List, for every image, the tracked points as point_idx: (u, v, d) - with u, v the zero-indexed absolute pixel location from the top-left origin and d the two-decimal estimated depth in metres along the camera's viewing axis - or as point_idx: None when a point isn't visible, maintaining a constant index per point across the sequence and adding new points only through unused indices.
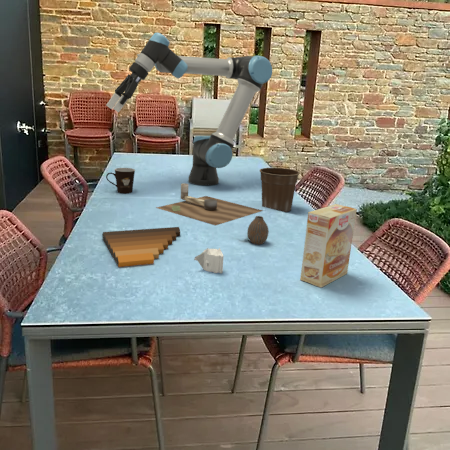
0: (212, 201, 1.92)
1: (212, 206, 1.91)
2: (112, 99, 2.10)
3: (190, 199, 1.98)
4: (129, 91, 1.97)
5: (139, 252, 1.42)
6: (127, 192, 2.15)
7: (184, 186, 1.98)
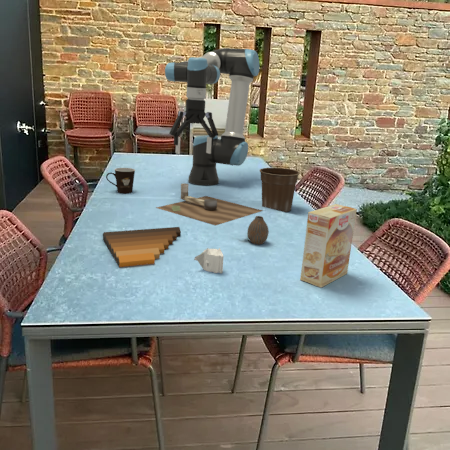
0: (212, 201, 1.92)
1: (212, 206, 1.91)
2: None
3: (190, 199, 1.98)
4: None
5: (140, 252, 1.42)
6: (127, 192, 2.15)
7: (184, 186, 1.98)
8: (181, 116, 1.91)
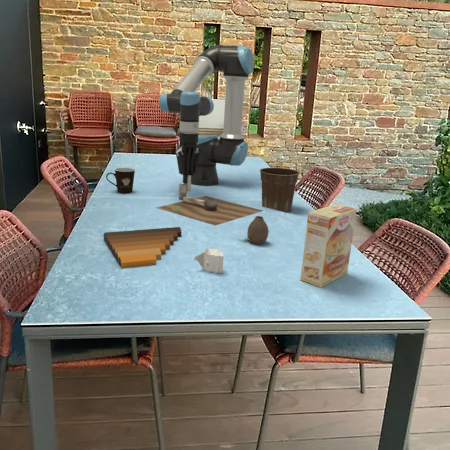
0: (212, 201, 1.92)
1: (212, 206, 1.91)
2: None
3: (189, 199, 1.97)
4: None
5: (141, 252, 1.42)
6: (127, 192, 2.15)
7: (182, 186, 1.97)
8: (181, 155, 1.92)
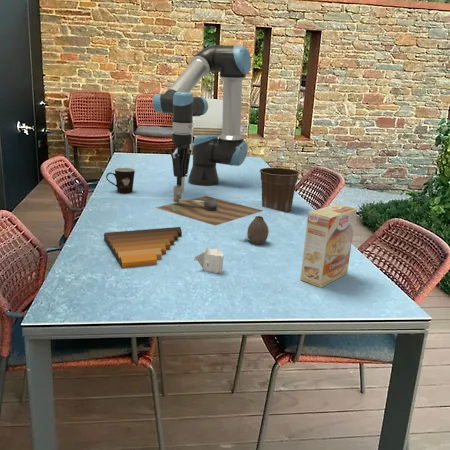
0: (212, 200, 1.92)
1: (214, 206, 1.91)
2: None
3: (186, 201, 1.94)
4: None
5: (142, 252, 1.42)
6: (127, 192, 2.15)
7: (178, 188, 1.94)
8: (178, 157, 1.88)
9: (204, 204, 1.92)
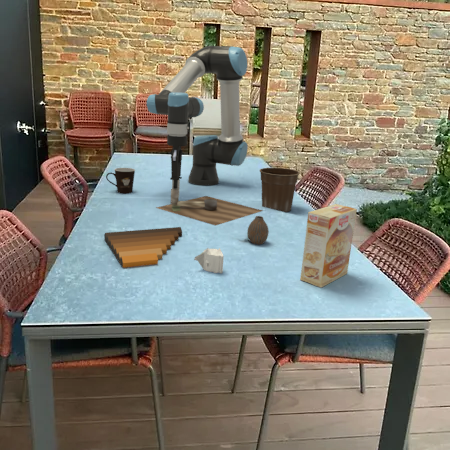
0: (212, 200, 1.92)
1: (216, 206, 1.92)
2: None
3: (185, 203, 1.91)
4: None
5: (143, 252, 1.42)
6: (127, 192, 2.15)
7: (177, 191, 1.89)
8: (177, 159, 1.84)
9: (205, 205, 1.91)
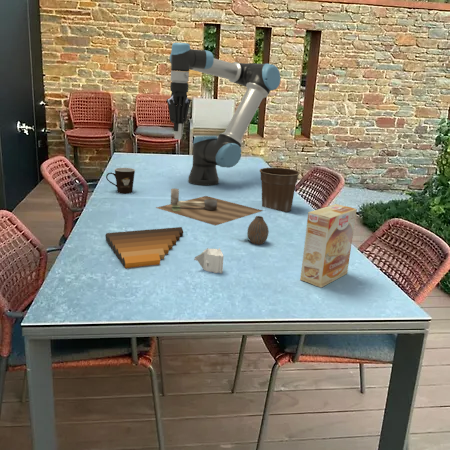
0: (212, 200, 1.92)
1: (216, 206, 1.92)
2: None
3: (185, 203, 1.91)
4: None
5: (145, 253, 1.41)
6: (127, 192, 2.15)
7: (177, 191, 1.89)
8: (172, 103, 2.04)
9: (205, 205, 1.91)
